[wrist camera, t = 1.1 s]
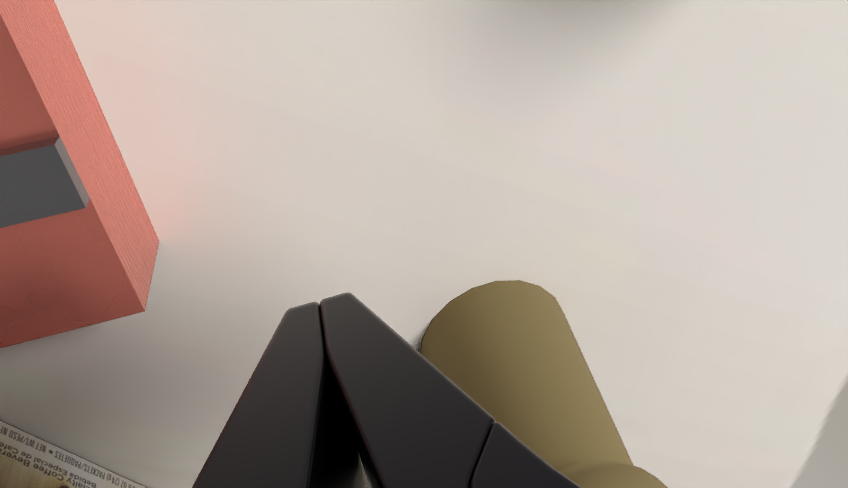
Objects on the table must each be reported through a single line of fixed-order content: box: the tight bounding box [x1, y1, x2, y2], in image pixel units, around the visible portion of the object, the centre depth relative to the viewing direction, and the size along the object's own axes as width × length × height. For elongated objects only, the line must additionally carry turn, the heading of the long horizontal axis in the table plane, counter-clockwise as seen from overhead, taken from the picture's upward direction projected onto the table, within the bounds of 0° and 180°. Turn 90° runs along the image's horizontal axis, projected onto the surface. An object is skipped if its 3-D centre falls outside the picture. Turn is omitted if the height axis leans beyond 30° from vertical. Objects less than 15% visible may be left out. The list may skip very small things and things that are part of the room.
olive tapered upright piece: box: [420, 280, 668, 488], centre depth 21 cm, size 6×6×11 cm
